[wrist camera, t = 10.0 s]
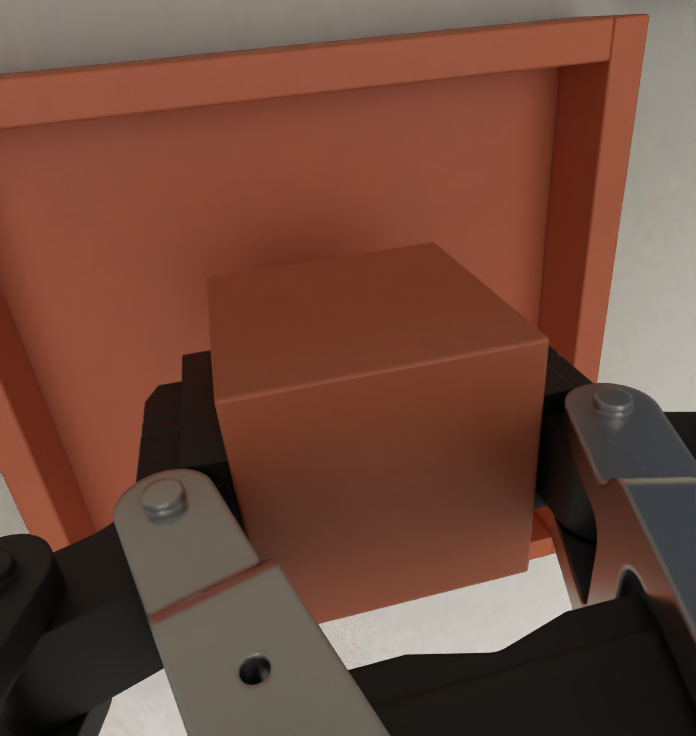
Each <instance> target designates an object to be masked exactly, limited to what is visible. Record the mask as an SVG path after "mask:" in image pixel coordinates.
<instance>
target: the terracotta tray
mask: <svg viewBox="0 0 696 736" xmlns="http://www.w3.org/2000/svg"><path fill="white" fill-rule="evenodd" d="M648 20H649V15H647V14H631V15H610V16H591V17H590V16H589V17H574V18H564V19H553V20H543V21H533V22H523V23H513V24H503V25H493V26H483V27H472V28H462V29H452V30H442V31H432V32H422V33H412V34H402V35H392V36H381V37H371V38H361V39H351V40H341V41H331V42H321V43H311V44H301V45H290V46H280V47H270V48H260V49H250V50H240V51H230V52H220V53H210V54H199V55H189V56H179V57H169V58H159V59H149V60H139V61H129V62H119V63H108V64H98V65H88V66H78V67H68V68H58V69H48V70H38V71H28V72H17V73H7V74H0V471H1V473H2V475H3V478H4V480H5V482H6V484H7V486H8V488H9V490H10V493H11V495H12V497H13V499H14V501H15V503H16V505H17V508H18V510H19V512H20V514H21V516H22V518H23V520H24V523H25V525H26V527H27V529H28V531H29V533H30V534H31V535H35V536H39V537H41V538H43V539H44V540H45V541H47V542H48V543H49V545H50V547H51V548H52V551H53V552H55V551H57V550H59V549H62V548H64V547H66V546H69V545H71V544H73V543H75V542H78V541H80V540H82V539H84V538H87V537H89V536H91V535H93V534H95V533H97V532H98V531H100V530H102V529H103V528H105V527H106V526H108V525H109V524H111V523H112V522H113V510H114V507H115V504H116V503H117V501H118V499H119V498H120V497H121V495H122V494H123V493H124V492H125V491H126V490H127V489H128V488H129V487H131V486H132V485H134V484H135V483H136V476H137V467H138V459H139V450H140V441H141V437H142V424H143V422H144V421H143V415H144V406H145V401H146V400H147V399H148V398H149V396H150V395H151V394H152V393H153V391H154V390H155V389H156V388H157V386H158V385H163V384H168V383H174V382H179V381H182V355H185V354H191V353H196V352H202V351H208V350H211V348H210V334H209V320H208V306H207V292H206V279H207V278H209V277H215V276H221V275H228V274H234V273H240V272H247V271H253V270H260V269H266V268H272V267H279V266H285V265H291V264H298V263H304V262H311V261H317V260H323V259H330V258H336V257H343V256H349V255H355V254H362V253H368V252H374V251H381V250H387V249H394V248H400V247H406V246H413V245H419V244H426V243H432V242H433V243H436V244H437V245H438V246H439V247H440V248H442V249H443V250H444V251H445V252H446V253H448V254H449V255H450V256H451V257H452V258H454V259H455V260H456V261H457V262H458V263H460V264H461V265H462V266H463V267H464V268H466V269H467V270H468V271H469V272H470V273H472V274H473V275H474V276H475V277H476V278H477V279H479V280H480V281H481V282H482V283H483V284H485V285H486V286H487V287H488V288H489V289H491V290H492V291H493V292H494V293H495V294H497V295H498V296H499V297H500V298H501V299H503V300H504V301H505V302H506V303H507V304H509V305H510V306H511V307H512V308H513V309H515V310H516V311H517V312H518V313H519V314H521V315H522V316H523V317H524V318H525V319H527V320H528V321H529V322H530V323H531V324H532V325H534V326H535V327H536V328H537V329H538V330H540V331H541V332H542V333H543V334H544V335H546V336H547V337H548V340H549V346H551V347H552V348H553V349H554V350H555V351H556V352H558V356H562V357H563V358H565V359H566V360H567V361H568V362H569V363H570V364H572V365H573V366H574V367H575V368H576V369H577V370H579V371H580V372H581V373H582V374H583V375H584V376H586V377H587V378H588V379H589V380H590V381H592V382H593V383H597V378H598V371H599V364H600V357H601V350H602V343H603V336H604V329H605V322H606V315H607V308H608V301H609V294H610V287H611V280H612V273H613V266H614V259H615V252H616V245H617V238H618V231H619V224H620V216H621V209H622V202H623V195H624V188H625V181H626V174H627V167H628V160H629V153H630V146H631V139H632V132H633V125H634V118H635V111H636V104H637V97H638V90H639V83H640V76H641V69H642V62H643V55H644V48H645V41H646V34H647V27H648ZM551 520H552V512H551V510H550V509H549V508H548V506H546V507H542V508H538V509H533V520H532V531H531V542H530V553H529V560H531V559H535V558H539V557H543V556H547V555H550V554H551V553H552V554H554V553H556V551H555V548H554V544H553V541H552V537H551V532H550V529H551Z"/></svg>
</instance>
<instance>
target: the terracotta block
mask: <svg viewBox="0 0 696 736" xmlns="http://www.w3.org/2000/svg"><path fill="white" fill-rule="evenodd" d="M206 292H207V306H208V320H209V334H210V348H211V362H212V376H213V390H214V403H215V408H216V412H217V416H218V421H219V425H220V430H221V434H222V438H223V443H224V447H225V452H226V456H227V460H228V465H229V469H230V474H231V478H232V482H233V487H234V491H235V496H236V500H237V504H238V509H239V513H240V518H241V522H242V526H243V531H244V533H245V535H246V537H247V538H248V540H249V542H250V543H251V545H252V546H253V548H254V550H255V551H256V553H257V554H258V556H259V558H260V559H261V561H264V560H266V559H268V558H273V559H274V560H275V561H276V562H277V563H278V564H279V565H280V567H281V568H282V570H283V571H284V573H285V574H286V576H287V577H288V579H289V580H290V582H291V583H292V585H293V587H294V588H295V590H296V591H297V593H298V594H299V596H300V597H301V599H302V600H303V602H304V604H305V605H306V607H307V608H308V610H309V611H310V613H311V614H312V616H313V617H314V619H315V620H316V622H317V624H320V623H324V622H328V621H332V620H336V619H340V618H344V617H348V616H352V615H356V614H360V613H364V612H368V611H372V610H376V609H380V608H384V607H388V606H392V605H396V604H400V603H403V602H407V601H411V600H415V599H419V598H423V597H427V596H431V595H435V594H439V593H443V592H447V591H451V590H455V589H459V588H463V587H467V586H471V585H475V584H479V583H483V582H487V581H491V580H495V579H499V578H502V577H506V576H510V575H514V574H518V573H522V572H526V571H527V570H528V564H529V553H530V542H531V531H532V520H533V509H534V499H535V488H536V477H537V466H538V455H539V444H540V433H541V423H542V412H543V401H544V390H545V379H546V368H547V357H548V346H549V340H548V337H547V336H546V335H544V334H543V333H542V332H541V331H540V330H538V329H537V328H536V327H535V326H534V325H532V324H531V323H530V322H529V321H528V320H527V319H525V318H524V317H523V316H522V315H521V314H519V313H518V312H517V311H516V310H515V309H513V308H512V307H511V306H510V305H509V304H507V303H506V302H505V301H504V300H503V299H501V298H500V297H499V296H498V295H497V294H495V293H494V292H493V291H492V290H491V289H489V288H488V287H487V286H486V285H485V284H483V283H482V282H481V281H480V280H479V279H477V278H476V277H475V276H474V275H473V274H472V273H470V272H469V271H468V270H467V269H466V268H464V267H463V266H462V265H461V264H460V263H458V262H457V261H456V260H455V259H454V258H452V257H451V256H450V255H449V254H448V253H446V252H445V251H444V250H443V249H442V248H440V247H439V246H438V245H437V244H436V243H433V242H432V243H426V244H419V245H413V246H406V247H400V248H394V249H387V250H381V251H374V252H368V253H362V254H355V255H349V256H343V257H336V258H330V259H323V260H317V261H311V262H304V263H298V264H291V265H285V266H279V267H272V268H266V269H260V270H253V271H247V272H240V273H234V274H228V275H221V276H215V277H209V278H207V279H206Z"/></svg>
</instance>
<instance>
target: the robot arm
mask: <svg viewBox="0 0 696 736" xmlns="http://www.w3.org/2000/svg"><path fill="white" fill-rule="evenodd" d="M143 421H144V422H143V424H142V437H141V441H140V450H139V459H138V467H137V476H136V483H135V484H134V485H132V486H131V487H129V488H128V489H127V490H126V491H125V492H124V493H123V494H122V495H121V497H120V498H119V499H118V501H117V503H116V504H115V507H114V510H113V522H112V523H111V524H109V525H108V526H106V527H105V528H103V529H102V530H100V531H98V532H97V533H95V534H93V535H91V536H89V537H87V538H84V539H82V540H80V541H78V542H75V543H73V544H71V545H69V546H66V547H64V548H62V549H59V550H57V551H55V552H53V551H52V548H51V547H50V545H49V543H48V542H47V541H45V540H44V539H43V538H41V537H39V536H35V535H31V534H14V535H8V536H3V537H0V736H98V735H99V732H100V730H101V728H102V725H103V723H104V720H105V718H106V715H107V713H108V710H109V708H110V704H111V701H112V697H114V696H116V695H117V694H119V693H121V692H123V691H124V690H126V689H128V688H130V687H132V686H133V685H135V684H137V683H139V682H140V681H142V680H144V679H146V678H147V677H149V676H151V675H153V674H154V673H156V672H158V671H160V670H162V669H163V668H164V669H165V672H166V675H167V677H168V680H169V683H170V686H171V689H172V692H173V695H174V697H175V700H176V703H177V706H178V709H179V712H180V715H181V717H182V720H183V723H184V726H185V729H186V732H187V735H188V736H696V412H663V411H662V410H661V408H660V407H659V405H658V404H657V403H656V401H655V400H653V399H652V398H651V397H650V396H648V395H647V394H645V393H643V392H641V391H639V390H636V389H634V388H631V387H627V386H623V385H618V384H611V383H593V382H592V381H590V380H589V379H588V378H587V377H586V376H584V375H583V374H582V373H581V372H580V371H579V370H577V369H576V368H575V367H574V366H573V365H572V364H570V363H569V362H568V361H567V360H566V359H565V358H563V357H562V356H558V352H556V351H555V350H554V349H553V348H552V347H551V346H548V357H547V368H546V379H545V390H544V401H543V412H542V423H541V433H540V444H539V455H538V466H537V477H536V488H535V499H534V509H538V508H542V507H546V506H548V508H549V509H550V510H551V512H552V520H551V529H550V532H551V537H552V541H553V544H554V548H555V551H556V554H557V558H558V561H559V564H560V568H561V571H562V575H563V578H564V581H565V585H566V588H567V592H568V595H569V598H570V602H571V605H572V609H573V610H571V611H567V612H565V613H563V614H562V615H560V616H558V617H557V618H555V619H553V620H551V621H550V622H548V623H546V624H545V625H543V626H541V627H540V628H538V629H536V630H535V631H533V632H531V633H530V634H528V635H526V636H525V637H523V638H521V639H520V640H518V641H516V642H515V643H513V644H511V645H510V646H508V647H506V648H505V649H502V650H500V651H497V652H491V653H458V654H413V655H403V656H399V657H395V658H392V659H388V660H384V661H380V662H377V663H373V664H369V665H366V666H362V667H358V668H354V669H351V670H347V668H346V667H345V665H344V664H343V662H342V661H341V659H340V657H339V656H338V654H337V653H336V651H335V650H334V648H333V647H332V645H331V644H330V642H329V641H328V639H327V637H326V636H325V634H324V633H323V631H322V630H321V628H320V627H319V625H318V624H317V622H316V620H315V619H314V617H313V616H312V614H311V613H310V611H309V610H308V608H307V607H306V605H305V604H304V602H303V600H302V599H301V597H300V596H299V594H298V593H297V591H296V590H295V588H294V587H293V585H292V583H291V582H290V580H289V579H288V577H287V576H286V574H285V573H284V571H283V570H282V568H281V567H280V565H279V564H278V563H277V562H276V561H275V560H274V559H273V558H268V559H266V560H264V561H261V559H260V558H259V556H258V554H257V553H256V551H255V550H254V548H253V546H252V545H251V543H250V542H249V540H248V538H247V537H246V535H245V533H244V531H243V526H242V522H241V518H240V513H239V509H238V504H237V500H236V496H235V491H234V487H233V482H232V478H231V474H230V469H229V465H228V460H227V456H226V452H225V447H224V443H223V438H222V434H221V430H220V425H219V421H218V416H217V412H216V408H215V403H214V390H213V376H212V362H211V350H208V351H202V352H196V353H191V354H185V355H182V381H179V382H174V383H168V384H163V385H158V386H157V388H156V389H155V390H154V391H153V393H152V394H151V395H150V396H149V398H148V399H147V400H146V401H145V406H144V415H143Z"/></svg>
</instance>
